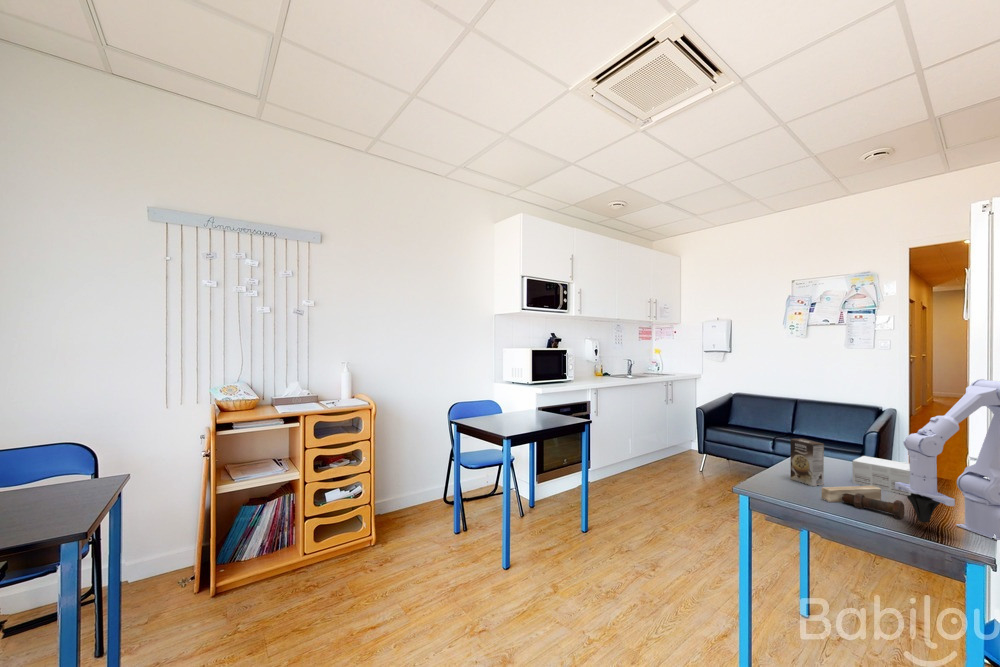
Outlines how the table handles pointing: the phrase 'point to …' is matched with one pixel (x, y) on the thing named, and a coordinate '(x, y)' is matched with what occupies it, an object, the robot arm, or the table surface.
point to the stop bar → (850, 492)
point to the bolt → (875, 504)
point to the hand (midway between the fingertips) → (923, 521)
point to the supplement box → (881, 473)
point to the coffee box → (807, 461)
